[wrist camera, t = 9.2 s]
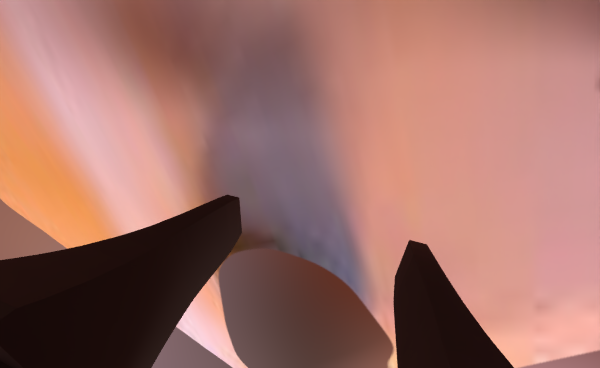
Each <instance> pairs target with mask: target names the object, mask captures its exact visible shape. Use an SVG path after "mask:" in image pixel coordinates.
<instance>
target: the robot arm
mask: <svg viewBox="0 0 600 368" xmlns="http://www.w3.org/2000/svg"><path fill="white" fill-rule="evenodd" d="M241 233H242V228H241V215H240V202H239V198H238V197H234V196H230V195H225V196H222V197H220V198H217V199H215V200H213V201H210V202H208V203H206V204H203V205H201V206H199V207H196V208H194V209H192V210H190V211H187V212H185V213H183V214H180V215H178V216H175V217H173V218H170V219H167V220H165V221H162V222H160V223H157V224H155V225H152V226H149V227H146V228H143V229H140V230H137V231H134V232H131V233H128V234H125V235H121V236H118V237H114V238H110V239H106V240H103V241H99V242H95V243H91V244H87V245H83V246H78V247H74V248H69V249H65V250H60V251H55V252H50V253H44V254H39V255H32V256H26V257H19V258H13V259H6V260H0V368H151V367H152V366H153V364H154V362H155V360H156V359H157V357H158V355H159V353H160V352H161V350H162V348H163V347H164V345H165V343H166V341H167V340H168V338H169V337H170V335H171V333H172V332H173V330H174V329H175V327H176V325H177V324H178V322H179V321H180V319H181V318H182V316H183V314H184V313H185V311H186V310H187V308H188V307H189V305H190V304H191V302H192V301H193V299H194V298H195V297H196V295H197V294H198V293H199V291H200V290H201V289H202V287H203V286H204V285H205V284H206V282H207V281H208V280H209V279H210V277H211V276H212V275H213V274H214V272H215V271H216V270H217V269H218V267H219V266H220V265H221V264H222V262H223V261H224V260H225V258H226V257H227V256H228V254H229V253H230V252H231V250H232V249H233V247H234V245H235V244H236V242H237V240H238V239H239V237H240V235H241ZM394 318H395V333H396V348H397V363H398V368H514V367H513V366H512V365H511V364H510V362H509V361H508V360H507V359H506V358H505V356H504V355H503V354H502V353H501V351H500V350H499V349H498V348H497V347H496V345H495V344H494V343H493V342H492V340H491V339H490V338H489V337H488V335H487V334H486V333H485V332H484V330H483V329H482V328H481V326H480V325H479V323H478V322H477V321H476V319H475V318H474V317H473V315H472V314H471V313H470V311H469V310H468V308H467V307H466V305H465V304H464V303H463V301H462V300H461V298H460V297H459V295H458V294H457V292H456V291H455V289H454V288H453V286H452V285H451V283H450V281H449V280H448V278H447V277H446V275H445V273H444V272H443V270H442V269H441V267H440V265H439V264H438V262H437V260H436V259H435V257H434V255H433V254H432V252H431V250H430V249H429V247H428V246H427V244H423V243H419V242H415V241H411V240H409V242H408V245H407V247H406V250H405V252H404V255H403V257H402V260H401V263H400V265H399V268H398V270H397V273H396V275H395V285H394Z"/></svg>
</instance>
